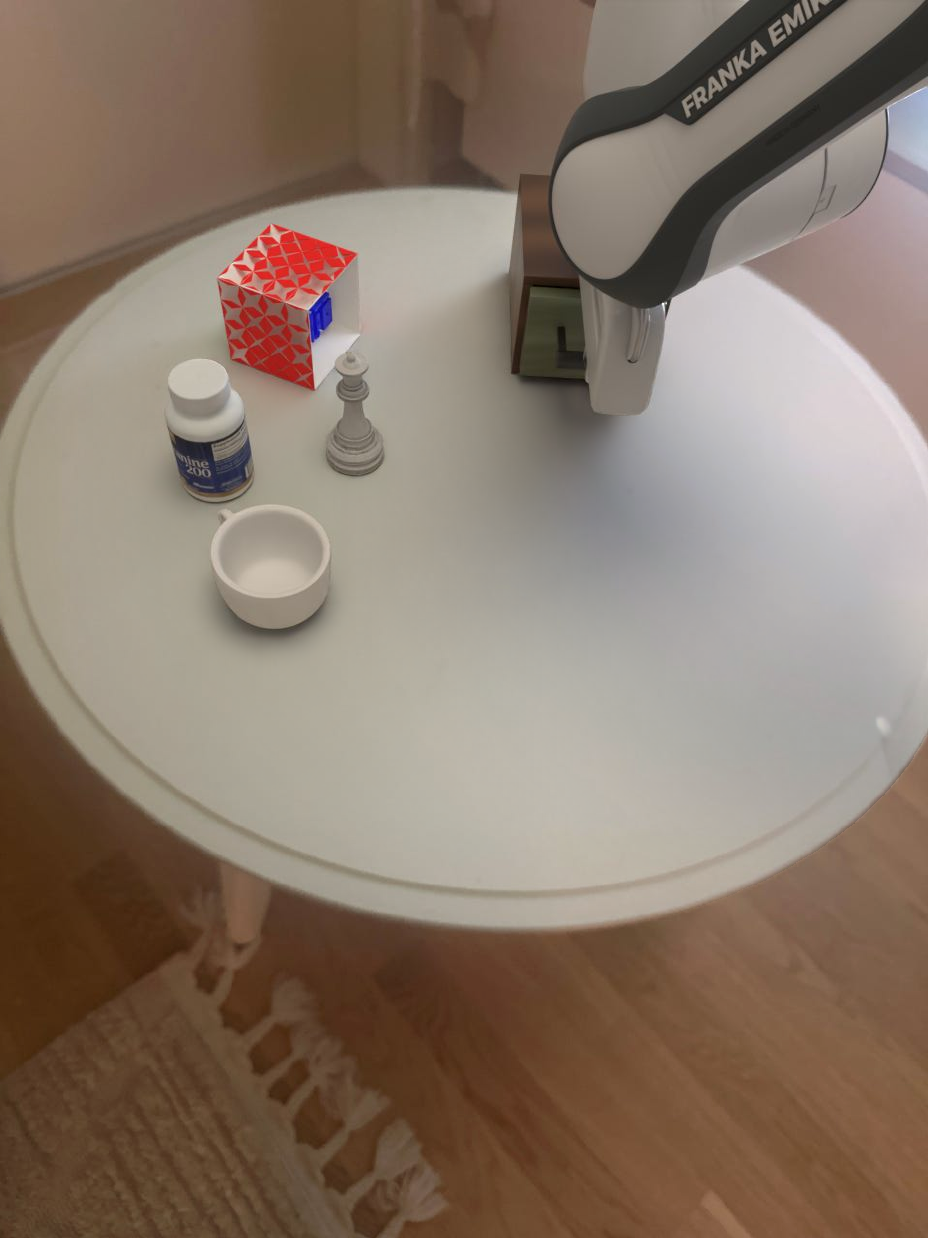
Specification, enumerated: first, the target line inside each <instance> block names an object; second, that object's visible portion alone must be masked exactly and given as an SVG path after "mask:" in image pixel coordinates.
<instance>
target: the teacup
mask: <svg viewBox="0 0 928 1238" xmlns="http://www.w3.org/2000/svg"><path fill="white" fill-rule="evenodd" d="M217 518H218V521H219V524H220V526H219V527H218V528H217V530H216V531H215V533H214V536H213V538H212V540H211V544H210V551H209V554H210V555H209V557H210V559H209V560H210V567H211V571H212V576H213V578H214V581H215V584H216V586H217V588H218V591H219V593H220V595H221V598H222V599H223V601H224V602H225V603H226V605H227V606H228V607H229V608H230V609H231V611H232V612H233V613H234V614H235V615H236V616H237V617H238V618H240V619H241V620H242V621H244V622H245V623H248V624H250V625H252V626H255V627H258V628H263V629H268V630H269V629H270V630H280V629H286V628H290V627H294V626H296V625H299V624H301V623H303V622H304V621H306V620H307V619H309V618H310V617H312V616H313V615H314V614H315V613H316V612H317V611H318V610H319V609H320V607H321V606H322V604H323V603H324V601H325V600H326V598H327V595H328V593H329V585H330V580H331V579H330V578H331V572H332V570H331V569H332V554H333V553H332V545H331V541H330V539H329V536H328V534H327V532H326V530H325V529H324V528H323V526H322V525H321V524H320V523H319V522H318V521H317V520H316V519H315V518H314V517H313V516H311V515H310V514H308V513H306V512H305V511H303V510H301V509H298V508H296V507H293V506H289V505H284V504H275V503H274V504H271V503H270V504H269V503H268V504H258V505H253V506H250V507H247V508H243V509H241V510H239V511H237V512H236V513H233V512H232V511H231V510H230V509H228V508H222V509H220V510H219V511H218V513H217Z"/></svg>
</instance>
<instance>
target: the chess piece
mask: <svg viewBox="0 0 928 1238" xmlns="http://www.w3.org/2000/svg"><path fill="white" fill-rule="evenodd" d="M369 366H370V365H369V360H368V359H367V357H365V356H364V355H363V354H361V353H359V352H354V351H350V352H349V351H348V352H346V353H344V354H342V355H340V356H339V357H338V358H337V359H336V361H335V366H334V369H335V371H336V373H338V374H339V375H340V376H341V379H340V380H339V381H338V382H337V384H336V385H335V392H336V395H337V397H338V399H339V400H341V401H342V402H343V413H342V417H341V418H339V420H338V421H337V422H336V424H335V426H334V427H333V428H332V429H331V430H330V431H329V433H328V434H327V437H326V444H325V445H326V447H325V448H326V449H325V453H326V458H327V461H328V463H329V465H330V466H331V467H332V468H333V469H334V470H336V471H337V472H340V473H342V474H345V475H348V476H361V475H366V474H368V473H371V472H373V471H374V470H376V469H378V467H379V466H380V465H381V464H382V462H383V460H384V458H385V457H384V456H385V447H384V439H383V434H381V432H380V430H378V428H377V427H375V426H374V425H373V423H372V421H371V420H370V419H369V418H368V417H366V415H365V411H364V406H363V402H364V401H365V400H366V399H367V398H368V397H369V396H370V385H369V383H368V382H367V381H366V380H365V379H363V375H365V374H366V373H367V372H368V370H369V368H370V367H369Z"/></svg>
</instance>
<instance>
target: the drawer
mask: <svg viewBox="0 0 928 1238" xmlns="http://www.w3.org/2000/svg"><path fill="white" fill-rule="evenodd" d="M666 305H667V303H666V302H664V306H665V309H666ZM584 350H585V335H584V325H583V314H582V303H581V292H580V289H564V288H561V286H545V285H533V287H530V293H529V300H528V308H527V315H526V322H525V329H524V336H523V344H522V351H521V358H520V365H519V366H520V374H519V376H524V377H525V376H527V377H528V376H529V377H545V378H564V379H583V380H585V370H584V360H583V355H584Z"/></svg>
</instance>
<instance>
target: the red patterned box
mask: <svg viewBox="0 0 928 1238" xmlns="http://www.w3.org/2000/svg"><path fill="white" fill-rule="evenodd" d="M359 260H360V259H359V253H358V252H356V251H353V250H351V249H347V248H345V247H342V246H339V245H335V244H333V243H330V242H327V241H324V240H321V239H318V238H315V237H313V236H309V235H306V234H303V233H301V232H298V231H294V230H292V229H289V228H287V227H284V226H280V225H278V224H274V223H273V222H271V223H270V224H268V225H267V227H266V228H264V229H263V231H262V232H261V233H259V234H258V236H257V237H256V238H255V239H253V241H251V243H250V244H249V245H247V247H245V248H244V249H243V251H242V252H241V253H240V254H239V255H238V256H237V257H236V258H235V259H234V260H232V261H231V263H230V264H229V265H227V267H226V268H225V269H223V271H222V272H221V273H220V274H218V276H217V277H216V281H217V288H218V293H219V299H220V305H221V310H222V317H223V321H224V328H225V333H226V341H227V345H228V351H229V356H230V360H232V361H235V362H237V363H240V364H243V365H245V366H248V367H250V368H253V369H256V370H259V371H262V372H265V373H267V374H270V375H272V376H275V377H278V378H280V379H283V380H286V381H289V382H291V383H293V384H295V385H296V384H297V385H299V386H302V387H304V388H306V389H310V390H312V391H316V390H317V389H318V388H319V386H320V385H321V384H322V382H324V380H325V379H326V378H327V377H328V375H329V374H330V373H331V371H332V370H333V369H335V361H336V359H337V358H338V357H339V356H340V355H342V354H344V353H348V351H349V349H350V348H351V347H352V345H354V343H355V342H356V341H357V340H358V339H359V337H360V336H361V335H362V326H361V325H362V324H361V323H362V322H361V293H360V291H361V290H360V289H361V288H360V264H359V262H360V261H359Z"/></svg>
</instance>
